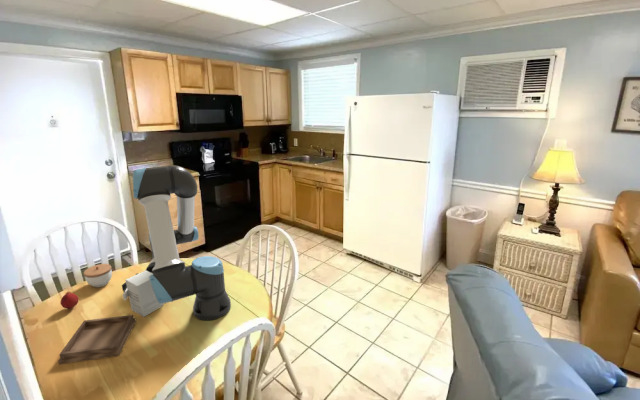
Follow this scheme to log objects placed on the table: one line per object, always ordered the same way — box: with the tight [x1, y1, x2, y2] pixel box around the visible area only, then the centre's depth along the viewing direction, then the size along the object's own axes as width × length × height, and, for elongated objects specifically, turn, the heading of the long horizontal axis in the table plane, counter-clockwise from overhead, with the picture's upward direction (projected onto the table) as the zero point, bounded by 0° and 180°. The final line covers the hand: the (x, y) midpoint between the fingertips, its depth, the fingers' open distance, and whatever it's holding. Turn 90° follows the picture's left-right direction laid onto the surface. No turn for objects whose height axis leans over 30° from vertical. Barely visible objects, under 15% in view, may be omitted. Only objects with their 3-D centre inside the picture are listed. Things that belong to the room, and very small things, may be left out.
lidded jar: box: [83, 263, 113, 288], centre depth 147 cm, size 11×11×9 cm
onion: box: [60, 291, 79, 310], centre depth 130 cm, size 6×6×8 cm
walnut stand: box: [57, 314, 137, 365], centre depth 114 cm, size 18×18×4 cm
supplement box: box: [125, 269, 164, 318], centre depth 130 cm, size 9×9×15 cm
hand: (141, 295), depth 126 cm, fingers closed on supplement box, 12 cm apart
